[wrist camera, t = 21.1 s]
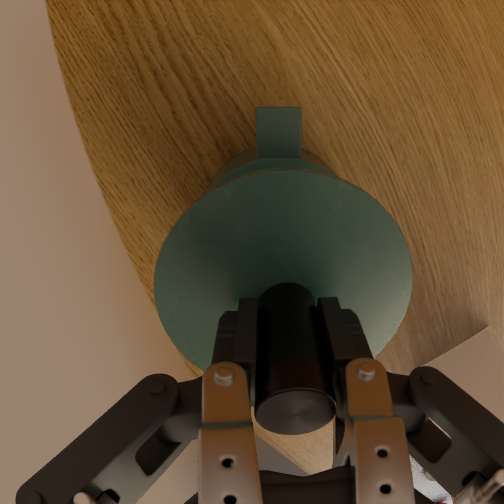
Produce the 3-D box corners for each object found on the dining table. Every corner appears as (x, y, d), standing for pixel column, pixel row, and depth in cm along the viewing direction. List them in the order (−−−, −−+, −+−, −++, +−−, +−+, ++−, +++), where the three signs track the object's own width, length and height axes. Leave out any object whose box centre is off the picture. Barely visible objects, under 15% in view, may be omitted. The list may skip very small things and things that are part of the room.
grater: (490, 373, 33) (548, 486, 15) (426, 410, 35) (467, 534, 17) (488, 326, 29) (571, 458, 11) (412, 370, 31) (469, 525, 13)
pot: (214, 301, 28) (203, 353, 22) (199, 109, 21) (176, 111, 15) (334, 300, 28) (350, 350, 22) (347, 109, 21) (378, 111, 15)
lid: (180, 374, 17) (155, 477, 11) (144, 170, 12) (49, 235, 6) (378, 370, 17) (410, 469, 11) (420, 170, 12) (525, 232, 6)
